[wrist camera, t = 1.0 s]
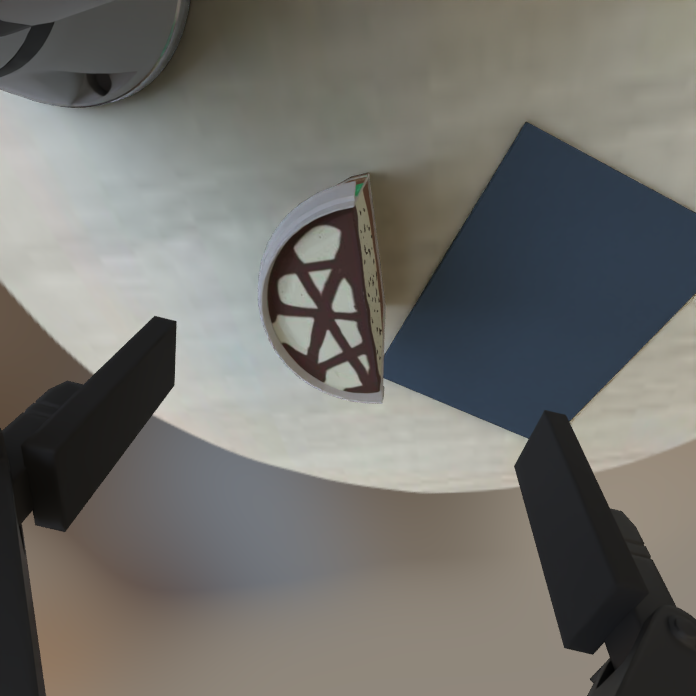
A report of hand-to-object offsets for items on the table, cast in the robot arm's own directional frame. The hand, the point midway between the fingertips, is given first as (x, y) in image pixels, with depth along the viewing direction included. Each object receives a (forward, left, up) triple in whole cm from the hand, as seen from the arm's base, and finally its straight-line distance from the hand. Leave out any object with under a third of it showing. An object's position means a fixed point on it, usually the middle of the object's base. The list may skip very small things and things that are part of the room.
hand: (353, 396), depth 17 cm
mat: (+13, -1, -18) cm, 22 cm away
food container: (-2, -3, -18) cm, 18 cm away
